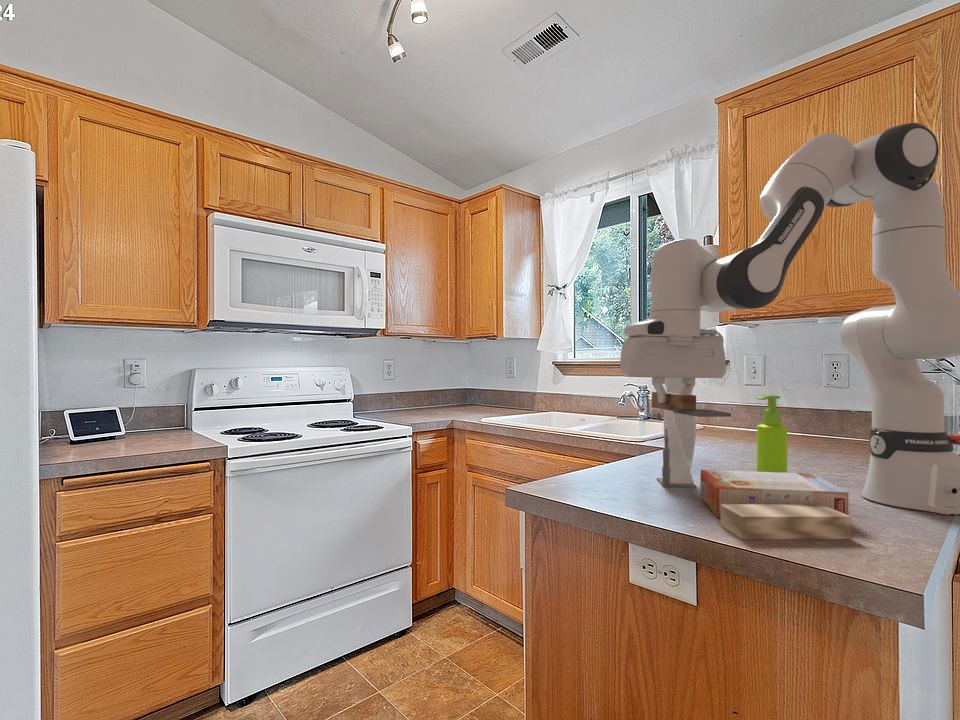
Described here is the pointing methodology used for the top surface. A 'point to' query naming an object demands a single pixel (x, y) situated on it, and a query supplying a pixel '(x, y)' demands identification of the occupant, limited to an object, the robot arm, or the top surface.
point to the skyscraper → (678, 443)
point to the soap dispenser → (771, 439)
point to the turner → (685, 406)
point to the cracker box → (769, 489)
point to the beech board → (785, 521)
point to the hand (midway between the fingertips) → (673, 402)
